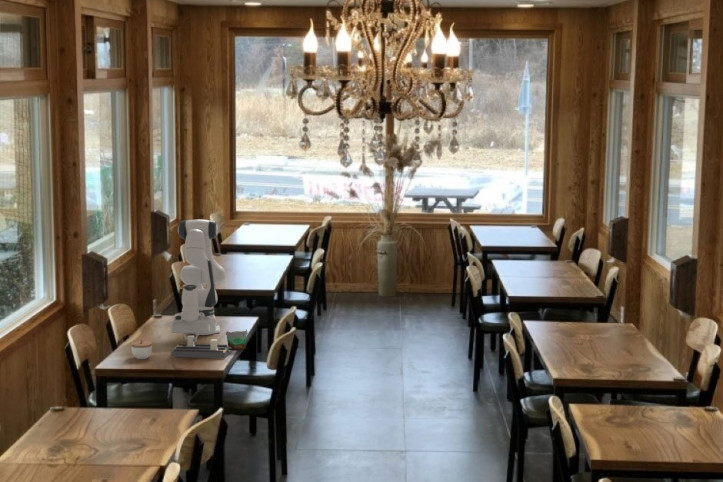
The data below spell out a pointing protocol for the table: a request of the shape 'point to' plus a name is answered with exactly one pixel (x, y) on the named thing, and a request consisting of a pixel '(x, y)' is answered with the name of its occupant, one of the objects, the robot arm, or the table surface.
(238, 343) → the food container
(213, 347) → the tab
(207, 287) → the robot arm
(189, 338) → the tab
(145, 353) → the lidded jar
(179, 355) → the switch board
